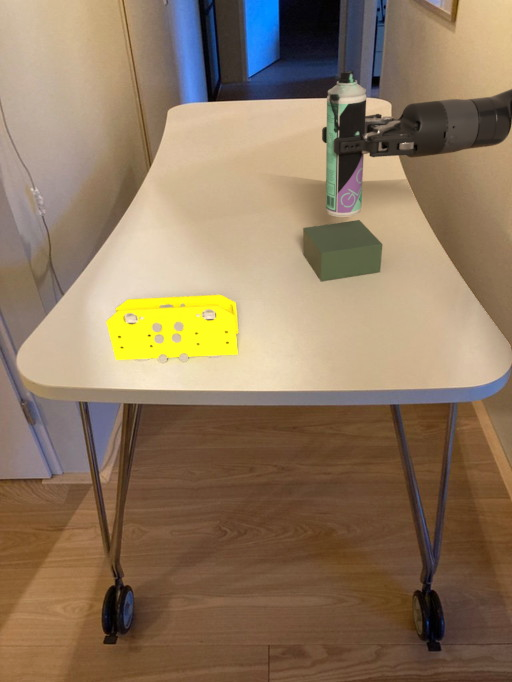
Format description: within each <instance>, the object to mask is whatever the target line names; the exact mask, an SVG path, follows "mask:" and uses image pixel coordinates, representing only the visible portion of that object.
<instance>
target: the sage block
mask: <svg viewBox="0 0 512 682" xmlns="http://www.w3.org/2000/svg"><path fill="white" fill-rule="evenodd" d="M302 230H303V231H302V245H303V246H302V248H303V249H302V251H303V252H302V254H303V256H304V258H305V259H306V261H307V263H308V264H309V265H310V267H311V269H312V271H314V273H315V275H316V276H317V278H318V279H319V281H320V282H327V281H333V280H339V279H345V278H352V277H359V276H365V275H370V274H371V275H372V274H378V273H381V266H382V255H383V253H382V252H383V243H382V242H381V241H380V240H379V239H378V238H377V237H376V235H374V234H373V232H371V230H370V229H369V228H368V227H367V226H366V225H365V224H364V223H363V222H362V221H361V220H360V219H356V220H349V221H342V222H335V223H328V224H322V225H315V226H307V227H302Z"/></svg>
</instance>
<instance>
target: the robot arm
mask: <svg viewBox="0 0 512 682" xmlns="http://www.w3.org/2000/svg"><path fill="white" fill-rule="evenodd" d="M511 128H512V88H510V89H508V90H505V91H503V92H500V93H497V94H495V95H492V96H485V97H476V98H465V99H463V98H462V99H460V98H451V99H442V100H433V101H432V100H431V101H424V102H414V103H409V104H407V105H406V106H405V107H404V108H403V111H402V114H401V115H400V117H399V118H395V117H394V116H382V114H380V113H375V114H370V115H366V116H365V134H363V135H362V138H361V136H360V135H355V136H346V137H338V138H335V140H334V152H335V153H336V154H337V155H340V154H348V153H357V152H360V151H361V153H362V154H364V155H368V154H369V157H370V158H377V157H378V158H379V157H396V156H397V157H398V156H407V157H408V158H419V157H429V156H437V155H443V154H444V155H445V154H452V153H457V152H460V151H464V150H470V149H478V148H487V147H494V146H497V145H499V144H502V143H503V142H504V141H505V140H506V139H507V138H508V136H509V135H510V132H511ZM321 140H322V142H323V143H324V144H327V126H324V127H322V129H321Z"/></svg>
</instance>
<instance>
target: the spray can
mask: <svg viewBox="0 0 512 682" xmlns="http://www.w3.org/2000/svg"><path fill="white" fill-rule="evenodd" d="M366 93H367V89H366V88H364V87H362V86H361V85H360V84H358V80H356V78H355V77H354V70H348V71H345V72H340V78H339V79H338V81H336V85H334V86H333V87H332V88H330V89H328V90H327V97H326V127H327V143H326V151H325V152H326V156H325V157H326V158H325V159H326V161H325V162H326V163H325V169H326V170H325V212H326V213H327V214H328V215H329V216H332V217H336V218H350V217H353V216H357V215H359V214H360V213H361V211H362V197H363V177H364V176H363V175H364V156H365V154H362V153H361V151H360V152H357V153H348V154H340V155H337V154H336V153H335V152H334V140H335V138H338V137H346V136H355V135H360V136H361V138H362V135H363V134H365V116H367V115H366V114H367V113H366V112H367V94H366Z"/></svg>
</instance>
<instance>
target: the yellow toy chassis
mask: <svg viewBox="0 0 512 682" xmlns="http://www.w3.org/2000/svg"><path fill="white" fill-rule="evenodd" d="M105 324H106V327H107V331H108V335H109V339H110V342H111V347H112V351H113V354H114V359H115V361H125V360H133V361H136V362H145V361H149V360H151V359H158V362H159V363H161V364H166V363H167V362H168V359H170V358H178V359H179V361H180V362H182V363H187V362H188V360H189V358H191V357H207V358H209V359H218V358H222V357H223V356H234V355H235V356H236V355H237V356H238V355H239V351H238V336H237V335H240V333H239V332H240V331H239V320H238V308H237V302H236V301H234V300H233V299H230V298H228V297H226V296H225V295H223V294H206V295H203V294H202V295H184V296H163V297H162V296H161V297H160V296H159V297H141V298H127V299H126V300H125V301H123V302H122V303H121V304H119V305H118V306H116V307H115V313H113V314H112V315H111V316H110V317H109V318H108V319H107V320H106V321H105Z"/></svg>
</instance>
